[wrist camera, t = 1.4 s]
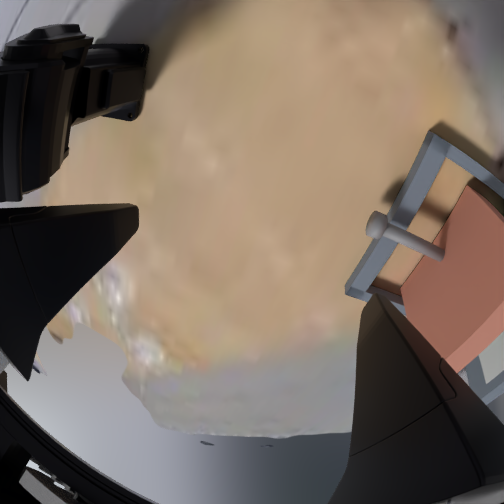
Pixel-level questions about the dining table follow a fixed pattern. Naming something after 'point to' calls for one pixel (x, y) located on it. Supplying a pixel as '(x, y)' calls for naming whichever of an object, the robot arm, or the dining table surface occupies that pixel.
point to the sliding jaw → (455, 279)
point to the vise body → (401, 214)
